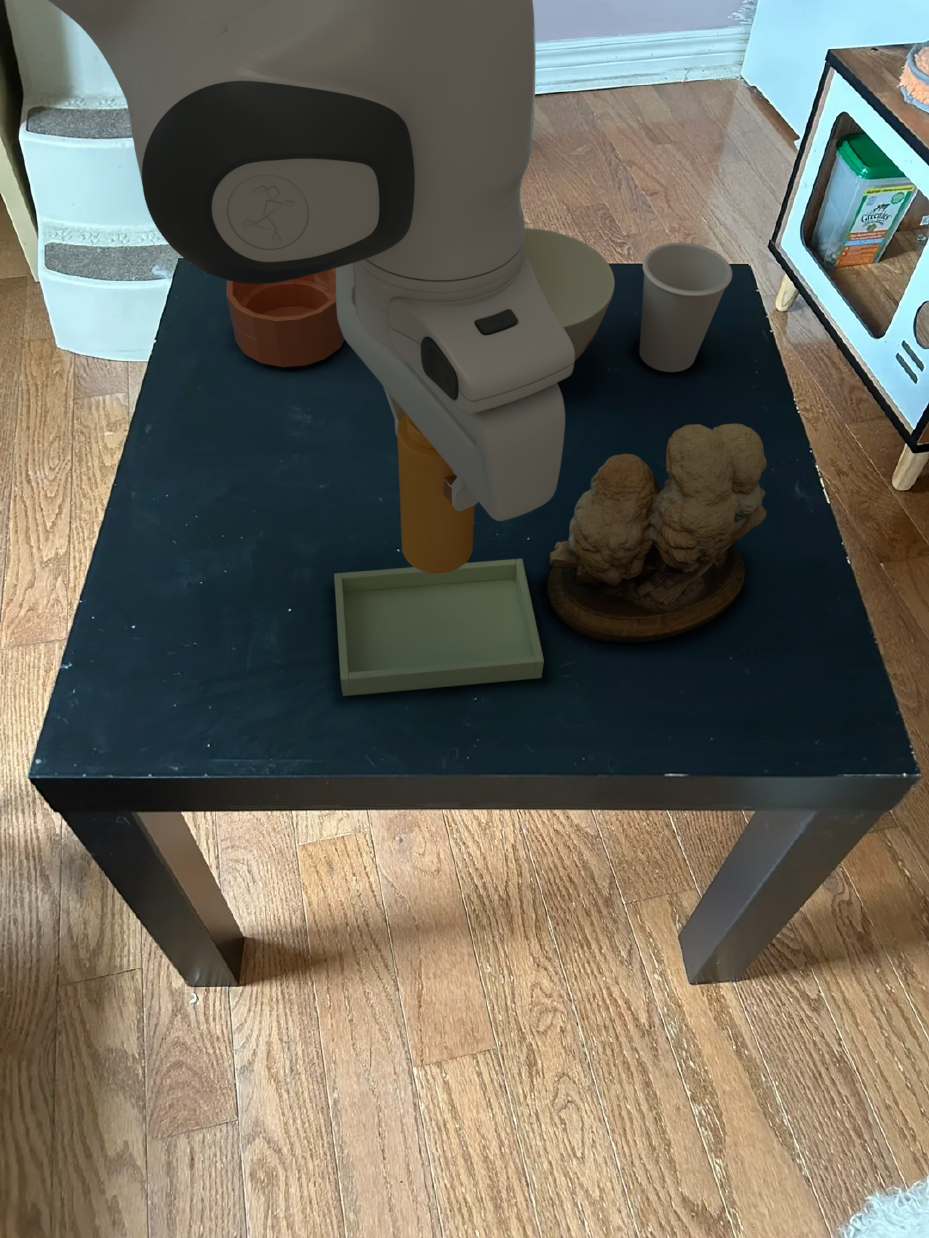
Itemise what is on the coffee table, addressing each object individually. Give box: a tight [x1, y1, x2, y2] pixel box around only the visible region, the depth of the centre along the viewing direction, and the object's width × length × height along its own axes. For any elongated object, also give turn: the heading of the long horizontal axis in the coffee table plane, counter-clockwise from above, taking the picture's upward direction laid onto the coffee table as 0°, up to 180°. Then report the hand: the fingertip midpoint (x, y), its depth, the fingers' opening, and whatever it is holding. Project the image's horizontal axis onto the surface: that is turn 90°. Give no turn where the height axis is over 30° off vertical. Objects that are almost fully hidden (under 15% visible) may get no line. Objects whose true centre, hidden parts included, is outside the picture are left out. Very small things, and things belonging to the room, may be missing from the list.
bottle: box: [396, 413, 476, 574], centre depth 62 cm, size 5×5×16 cm
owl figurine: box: [546, 423, 768, 644], centre depth 73 cm, size 18×12×17 cm, turn 113°
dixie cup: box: [638, 242, 733, 373], centre depth 94 cm, size 8×8×10 cm
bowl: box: [523, 227, 616, 361], centre depth 93 cm, size 16×16×10 cm
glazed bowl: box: [226, 268, 346, 368], centre depth 96 cm, size 11×11×6 cm
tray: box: [333, 558, 545, 697], centre depth 75 cm, size 15×10×2 cm
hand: (436, 470), depth 62 cm, fingers closed on bottle, 5 cm apart
